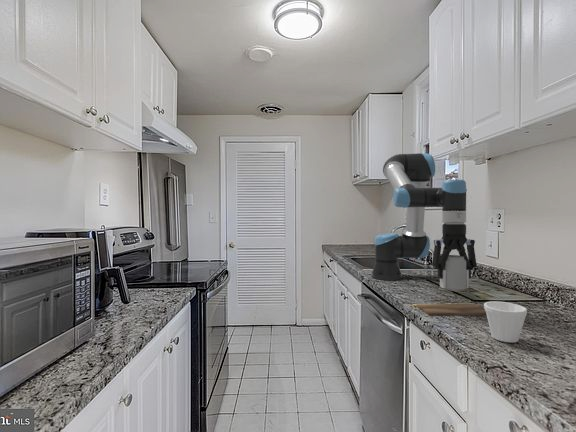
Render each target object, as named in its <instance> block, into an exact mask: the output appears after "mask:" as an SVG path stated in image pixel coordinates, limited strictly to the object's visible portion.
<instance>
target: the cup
mask: <svg viewBox="0 0 576 432" xmlns="http://www.w3.org/2000/svg"><path fill="white" fill-rule="evenodd" d="M483 308H484V309H485V311H486V314H487V315H486V317H487V322H488V326H489V329H490V330H489V331H490V335H491V338H492V339H493V340H496V341H497V342H500V343H505V344H516V343H518V342H519V339H520V337H521V333H522V329H523V327H524V323H525V320H526V316H528V315H527V314H528V313H527V312H528V310H527V308H526V307H524V306H523V305H519V304H516V303H512V302H506V301H495V300H494V301H487V302H484V304H483Z"/></svg>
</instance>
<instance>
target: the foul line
mask: <svg viewBox="0 0 576 432" xmlns="http://www.w3.org/2000/svg"><path fill="white" fill-rule="evenodd" d="M418 304H419V303H414V304H413V303H412V304H411V306H412V307H417V305H418ZM461 304H476V303H469V302H468V303H467V302H466V303H461Z"/></svg>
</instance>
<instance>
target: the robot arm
mask: <svg viewBox="0 0 576 432" xmlns="http://www.w3.org/2000/svg"><path fill="white" fill-rule="evenodd" d="M382 173H383V175H384V177H385V179H386V180H388V181H389V182H390V184H391V186H392V188H393V190H394V191H393V196H392V197H393V205H394V206H395V207H396V208H403V209H404V208H405V209H406V217H405V229H404V230H403V231H402V235H399V234H398V233H397V232H394V233H393V232H392V233H391V232H390V233H382V234H378V235H376V236H375V237H374V238H375V240H374V254H375V255H374V257H375V258H374V260H375V261H374V265H373V268H372V272H371V277H372V279H375V280H380V281H398V280H401V279H402V275H403V274H402V271H401V269H400V265H399V259H423V258H426V257H427V256H428V254H429V251H430V248H431V241H430V237H429V236H427V233H426V231H425V230H424V227H425V212H426V211H425V210H426V209H425V208H442V212H441V213H442V214H441V215H442V217H441V218H442V223H443V224H441V225H442V228H441V229H442V237H441V239H434V240H433V245H434V248H433V255H432V262H431V263H432V264H431V266H432V268H436V269H437V278H438V279H439V287H440V288H442V289H445V290H447V289H446V270H444V266H445V264H446V261H447V259H448V256H449V255H451V254H450V253H451V252H453V251H454V250H456V251H457V252H458V254H459V256H463V257H464V259H465V260H466V289H469V288H470V287H469V286H470V285H469V283H470V280H469V279H471V277H472V273H471V272H472V270H473V269H475V268H477V257H476V251H475V243H476V241H475V240H474V239H470V238H467V237H466V235H467V224H466V222H467V190H468V189H467V182H466V180H464V179H448V180H447V179H446V180H444V181H442V185H441V187H427V184H428V183H429V182H431V178H434V177H435V175H436V163H435V160H434V157H433V155H432V154H430V153H422V152H421V153H419V152H418V153H398V154H395V155H393V156H391V157H389V158H388V159H387V160H386V161H385V162H384V163H383V167H382ZM442 245H444V246H443V248H442ZM465 245H466V247H465ZM441 252H442V253H441Z"/></svg>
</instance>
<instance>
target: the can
mask: <svg viewBox="0 0 576 432" xmlns="http://www.w3.org/2000/svg"><path fill="white" fill-rule="evenodd" d="M444 270H446V289H445V290H447V291H452V292H463V291H464V290H466V289H467V288H466V260H465V259H464V257H463V256H460V255H456V254H449V256H448V259H447V261H446V264H445V266H444Z"/></svg>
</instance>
